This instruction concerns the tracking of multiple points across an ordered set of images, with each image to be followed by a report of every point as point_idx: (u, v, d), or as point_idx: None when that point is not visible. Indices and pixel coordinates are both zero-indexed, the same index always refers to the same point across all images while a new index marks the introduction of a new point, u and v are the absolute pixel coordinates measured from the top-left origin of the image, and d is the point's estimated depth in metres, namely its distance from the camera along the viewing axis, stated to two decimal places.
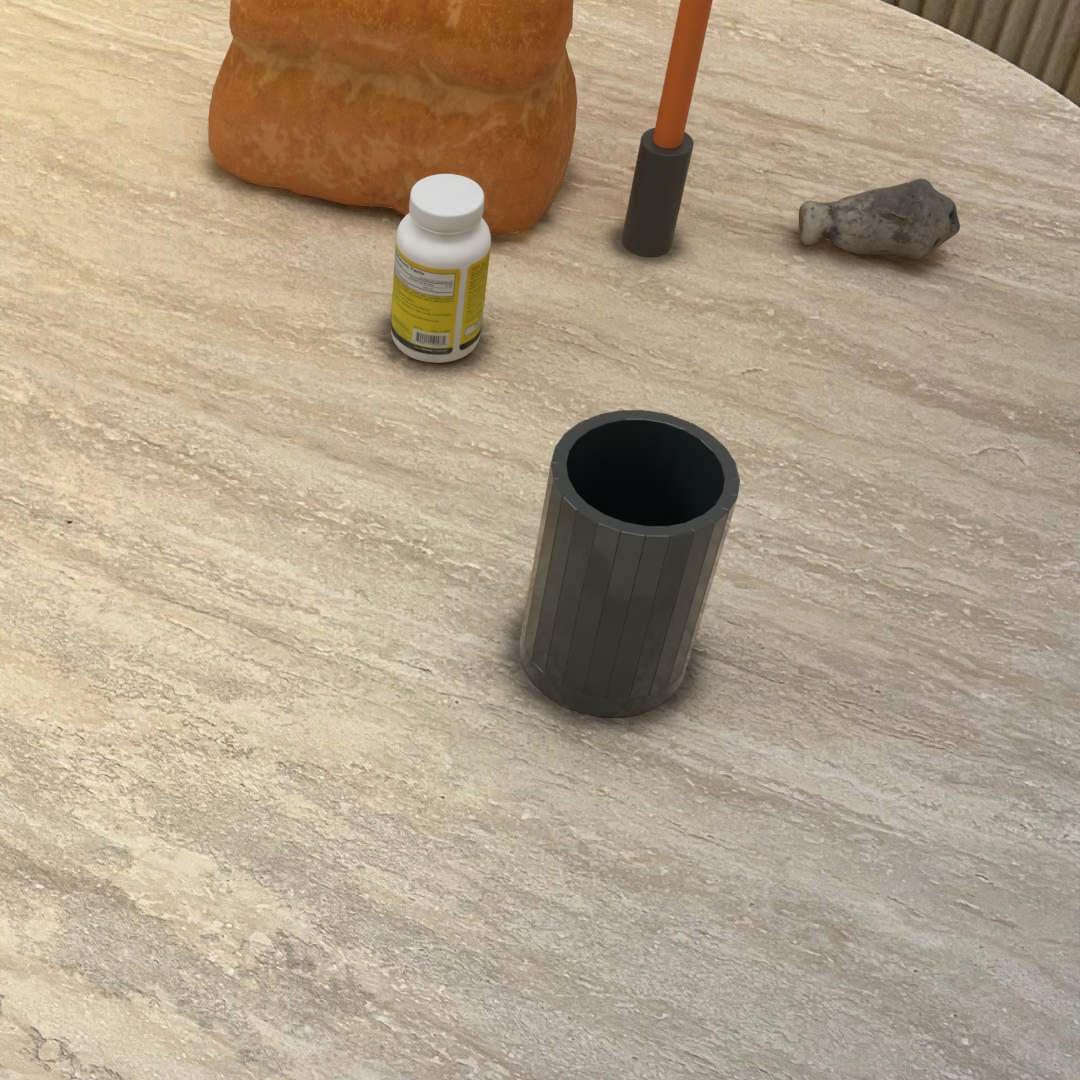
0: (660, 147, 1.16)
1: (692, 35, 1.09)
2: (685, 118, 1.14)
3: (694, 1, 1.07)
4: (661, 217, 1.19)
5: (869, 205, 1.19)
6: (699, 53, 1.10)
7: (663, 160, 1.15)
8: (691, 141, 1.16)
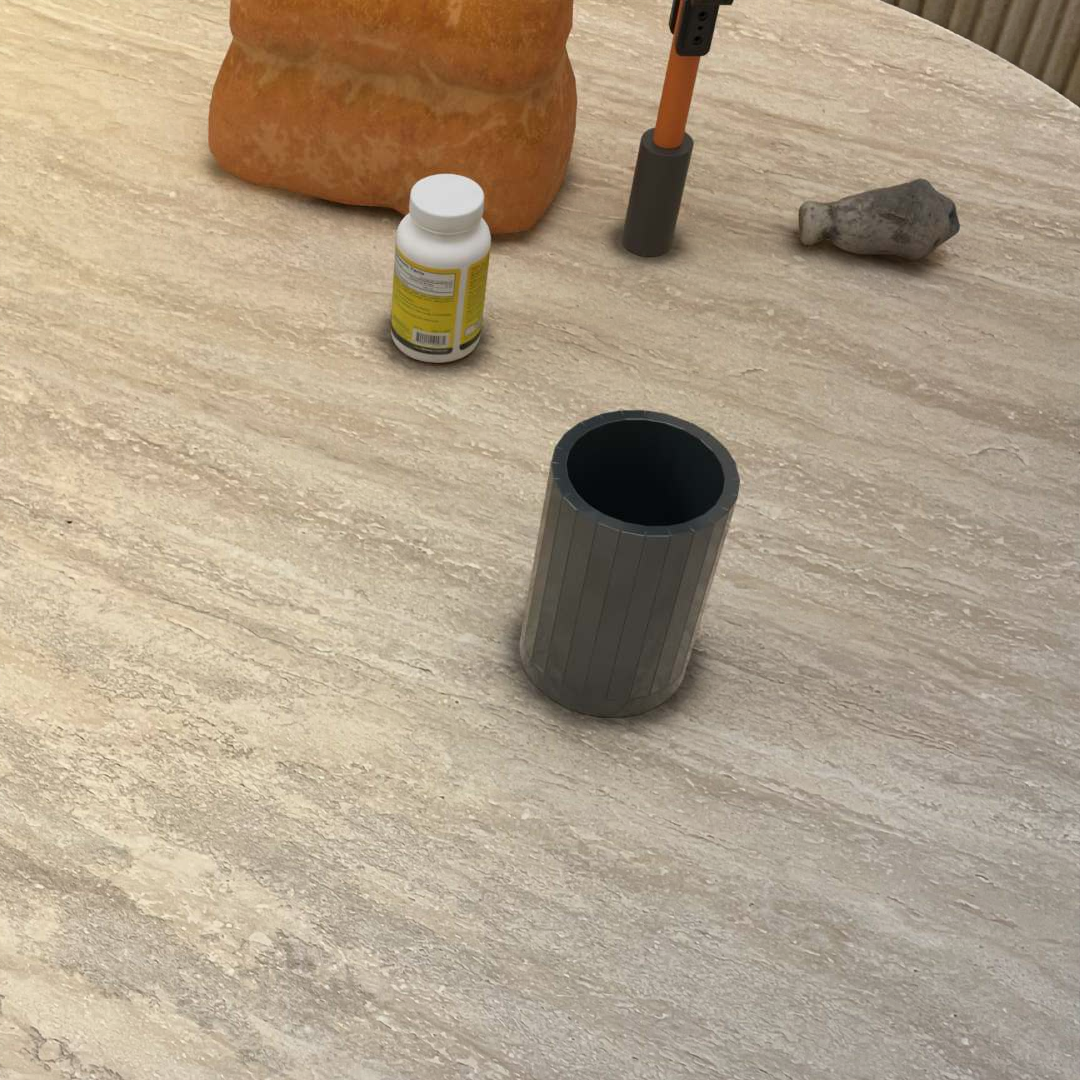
0: (660, 147, 1.16)
1: None
2: (685, 118, 1.14)
3: None
4: (661, 217, 1.19)
5: (869, 205, 1.19)
6: None
7: (663, 160, 1.15)
8: (691, 141, 1.16)
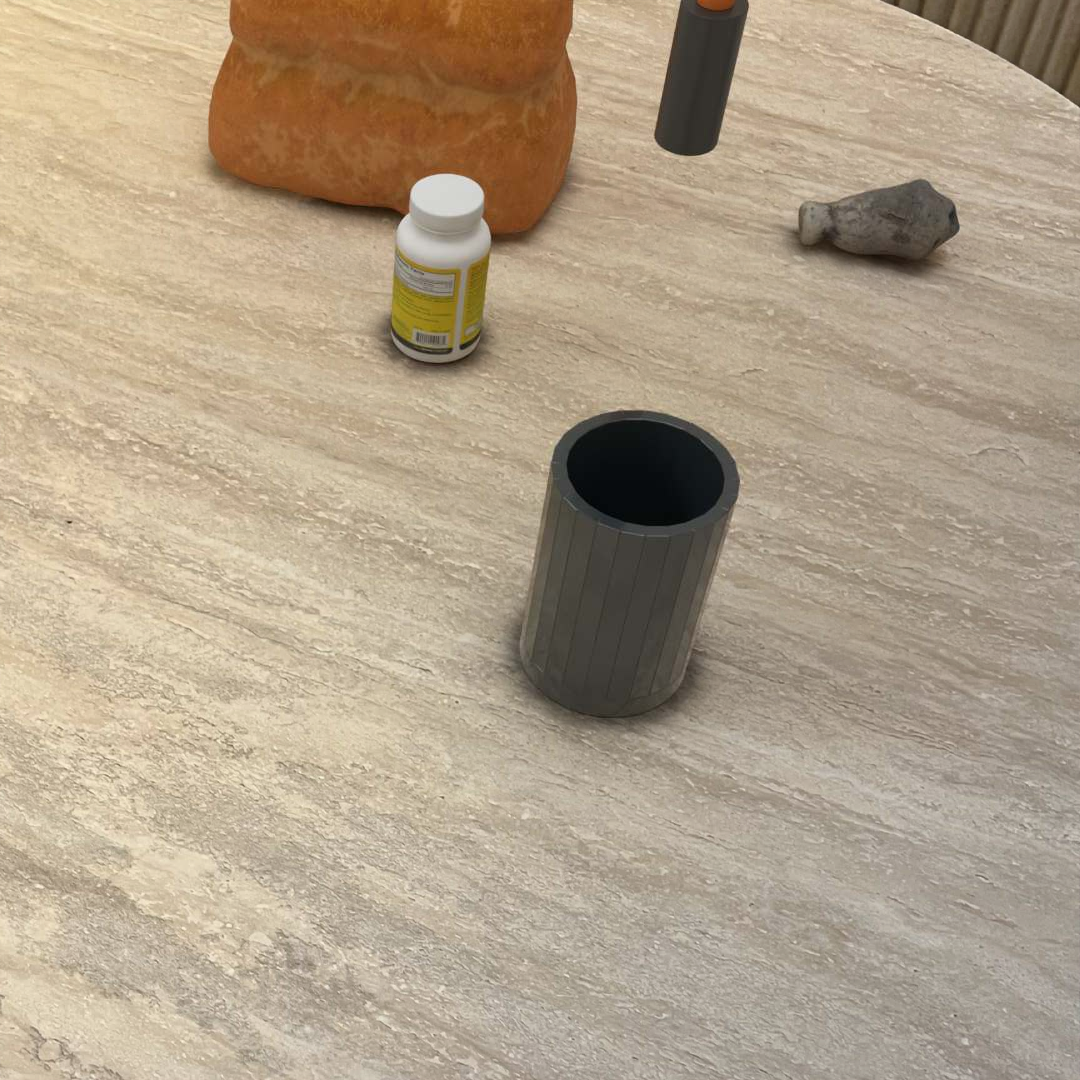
0: (705, 9, 0.90)
1: None
2: None
3: None
4: (706, 103, 0.93)
5: (869, 205, 1.19)
6: None
7: (709, 25, 0.90)
8: (746, 2, 0.90)
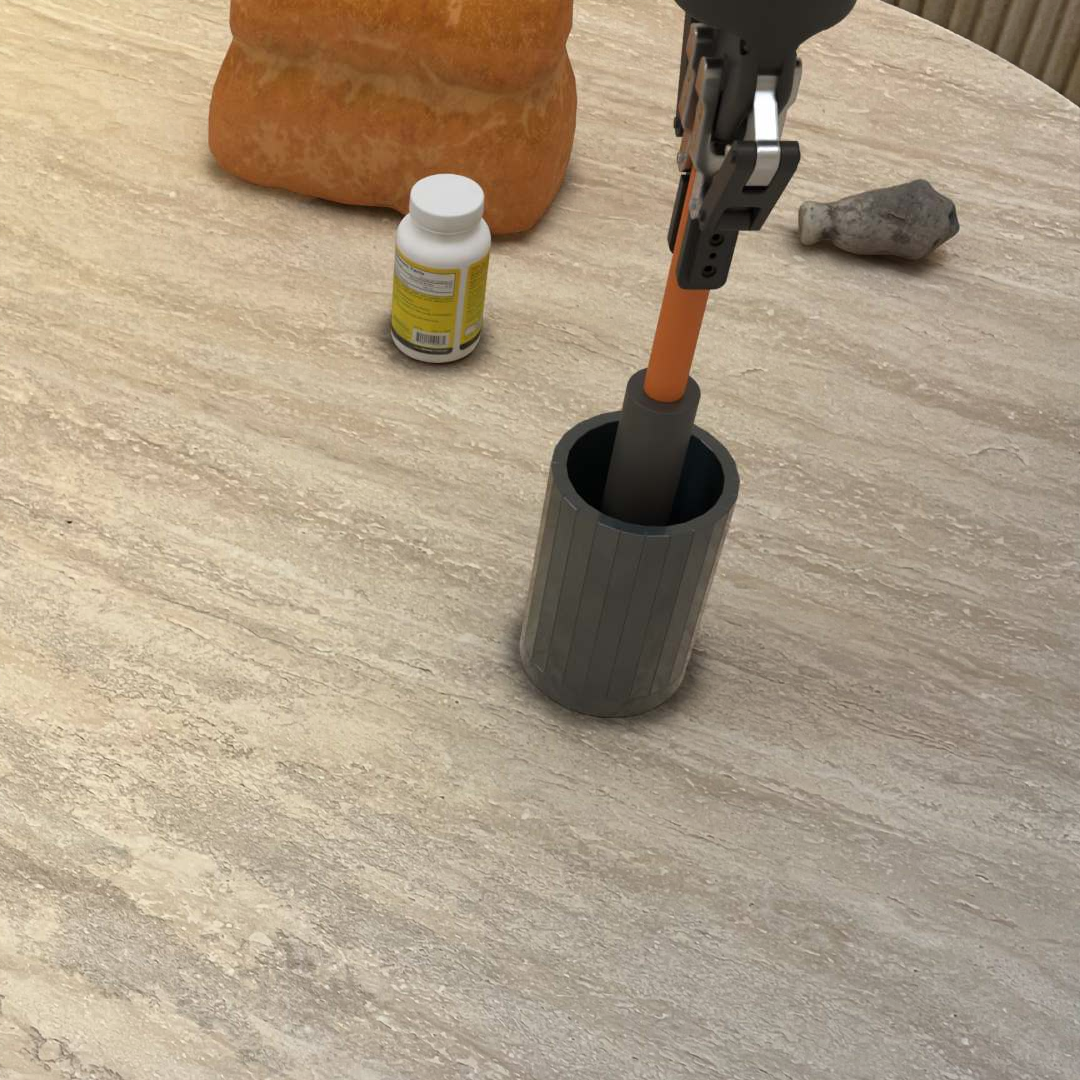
0: (653, 400, 0.82)
1: None
2: (689, 364, 0.81)
3: None
4: (656, 488, 0.86)
5: (868, 205, 1.19)
6: None
7: (658, 419, 0.82)
8: (697, 390, 0.83)
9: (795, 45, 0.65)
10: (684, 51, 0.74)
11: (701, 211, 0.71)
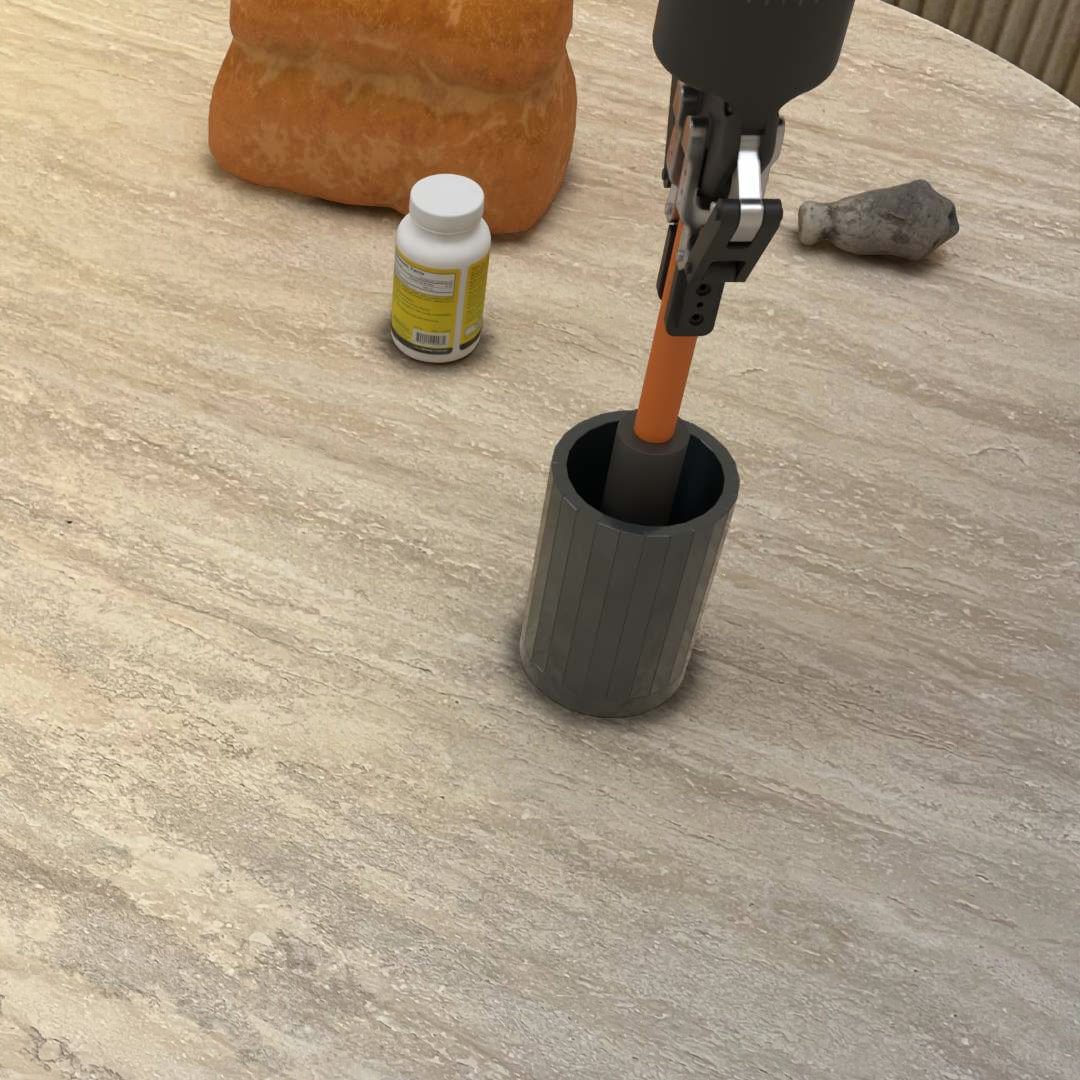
0: (643, 441, 0.84)
1: None
2: (678, 406, 0.83)
3: None
4: (647, 525, 0.88)
5: (868, 205, 1.19)
6: None
7: (647, 459, 0.84)
8: (686, 431, 0.85)
9: (777, 107, 0.67)
10: (671, 105, 0.76)
11: (688, 263, 0.73)
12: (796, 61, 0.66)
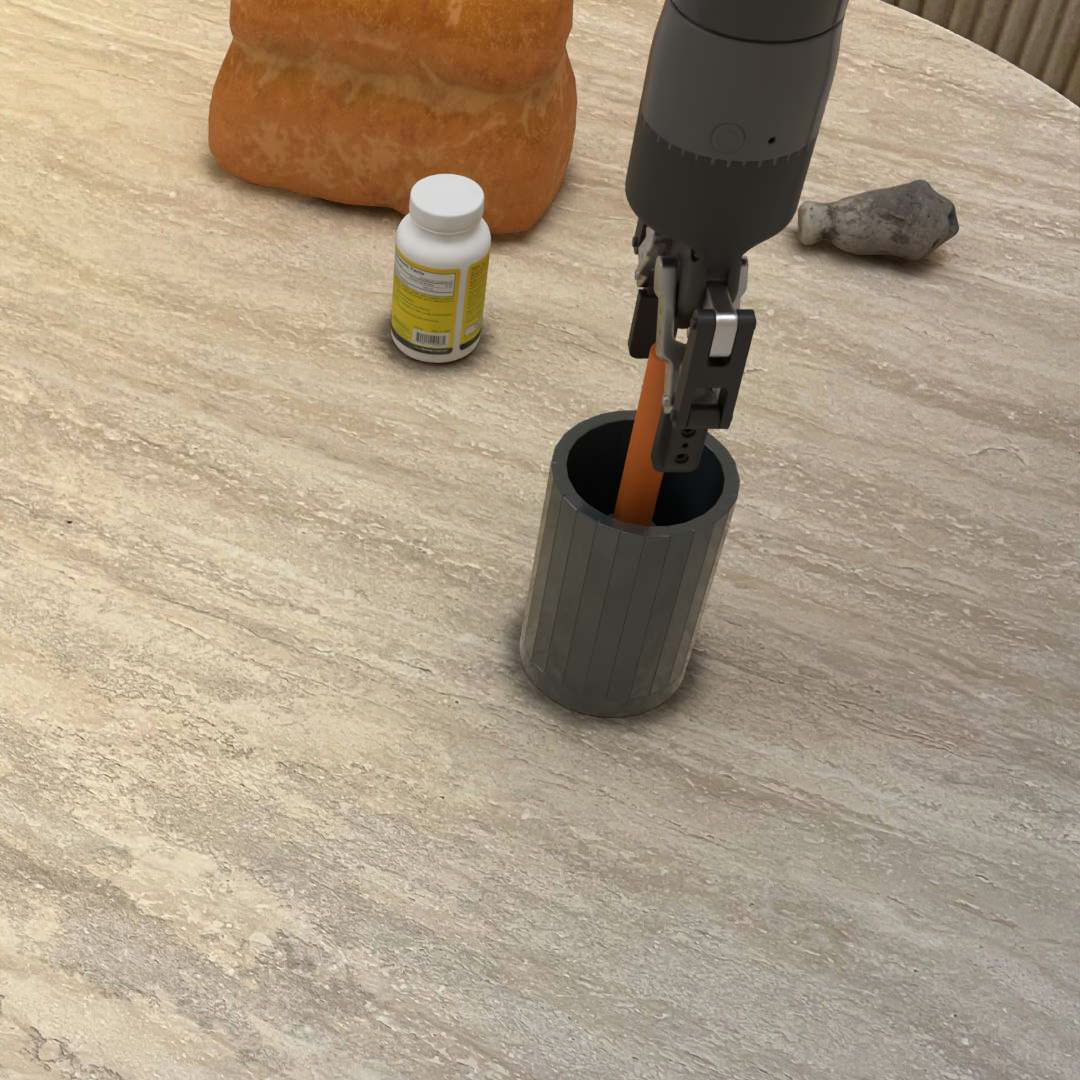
0: None
1: None
2: (650, 515, 0.89)
3: (659, 394, 0.82)
4: None
5: (868, 205, 1.19)
6: None
7: None
8: None
9: (740, 254, 0.73)
10: None
11: (672, 410, 0.76)
12: (756, 215, 0.71)
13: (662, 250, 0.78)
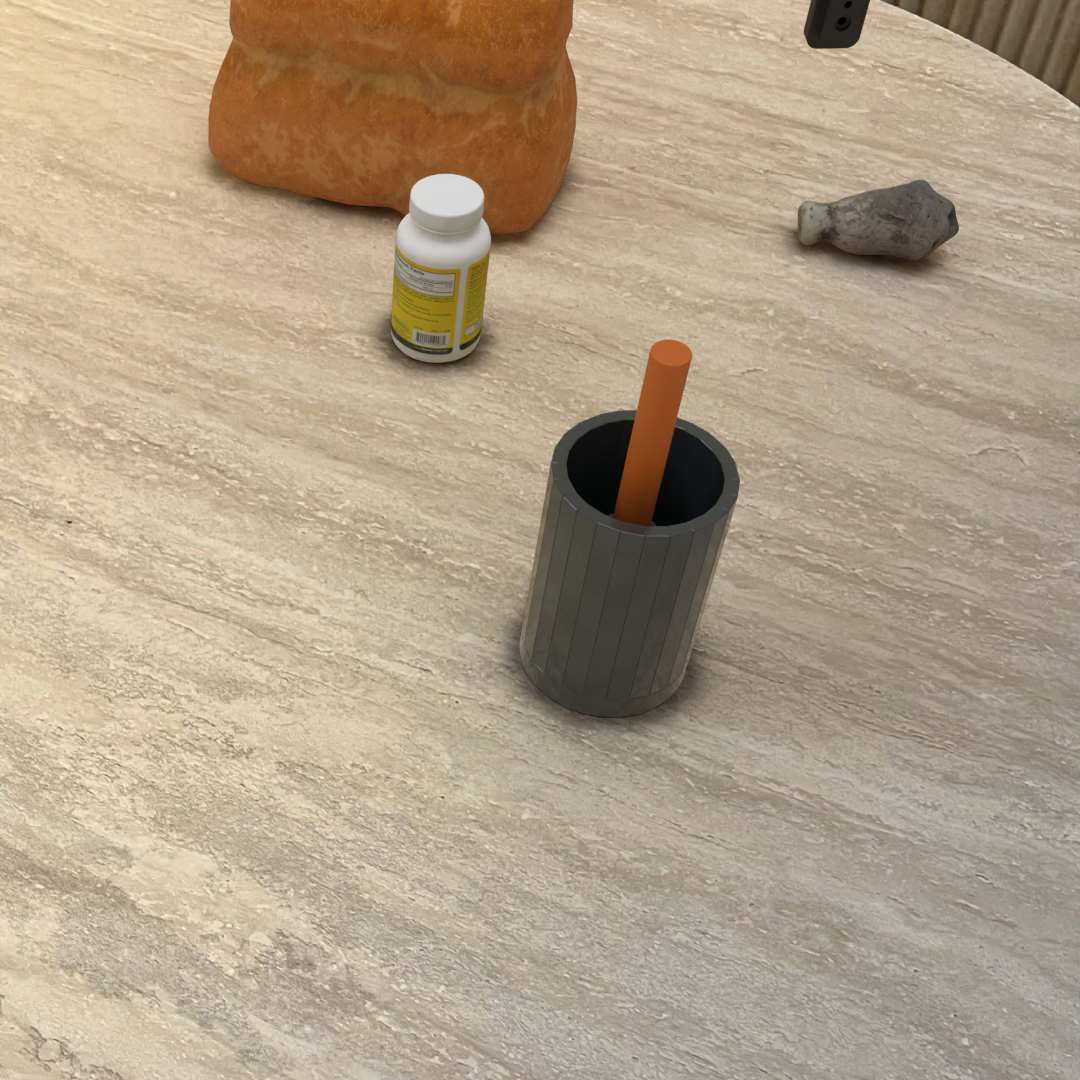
0: None
1: (658, 429, 0.84)
2: (650, 515, 0.89)
3: (659, 394, 0.82)
4: None
5: (868, 205, 1.19)
6: (667, 447, 0.85)
7: None
8: None
9: None
10: None
11: None
12: None
13: None
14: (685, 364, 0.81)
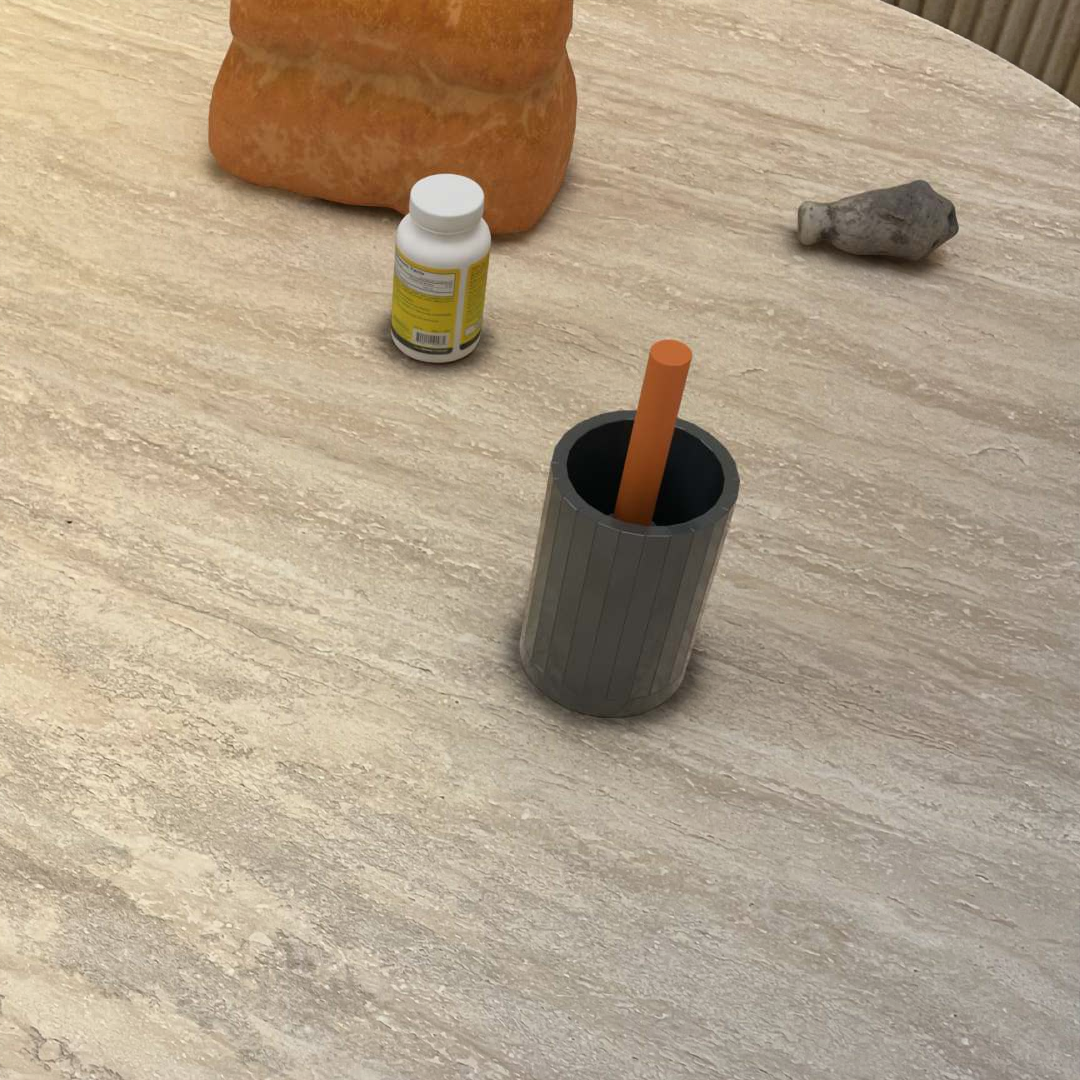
0: None
1: (658, 429, 0.84)
2: (650, 515, 0.89)
3: (659, 394, 0.82)
4: None
5: (867, 205, 1.19)
6: (667, 447, 0.85)
7: None
8: None
9: None
10: None
11: None
12: None
13: None
14: (685, 364, 0.81)
